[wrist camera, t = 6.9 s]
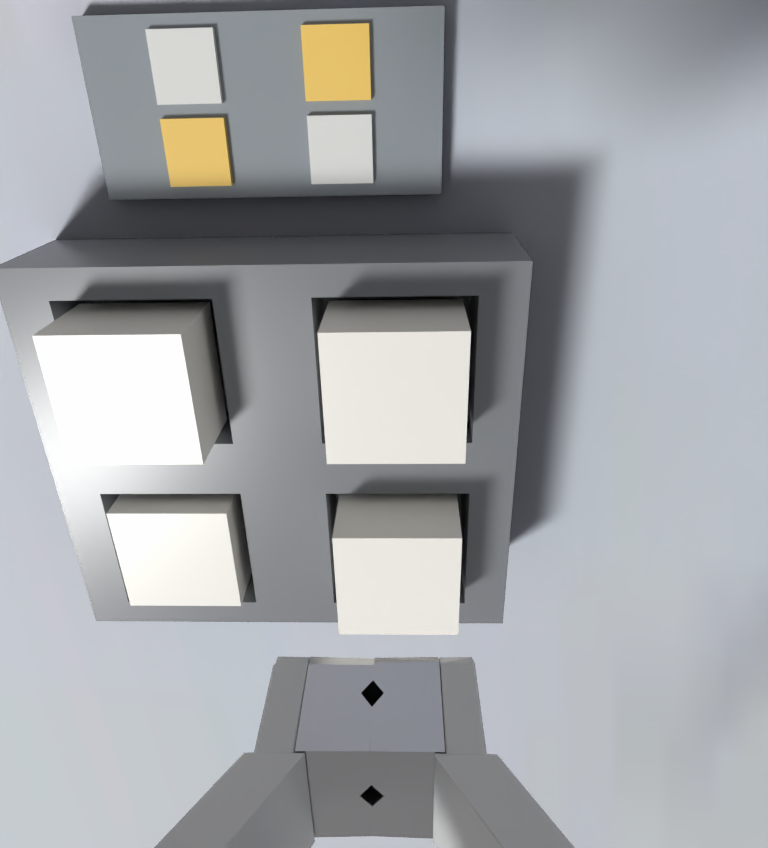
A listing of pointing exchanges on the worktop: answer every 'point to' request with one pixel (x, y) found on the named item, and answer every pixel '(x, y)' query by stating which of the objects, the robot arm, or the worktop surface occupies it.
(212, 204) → the worktop surface
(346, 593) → the button back right
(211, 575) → the button back left
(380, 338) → the button front right
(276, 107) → the pattern card
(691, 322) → the worktop surface
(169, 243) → the button board
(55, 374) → the button front left
